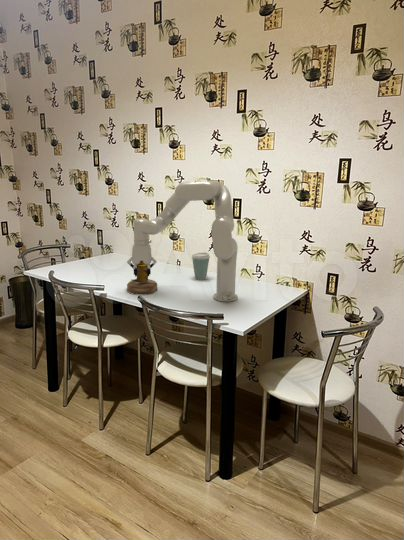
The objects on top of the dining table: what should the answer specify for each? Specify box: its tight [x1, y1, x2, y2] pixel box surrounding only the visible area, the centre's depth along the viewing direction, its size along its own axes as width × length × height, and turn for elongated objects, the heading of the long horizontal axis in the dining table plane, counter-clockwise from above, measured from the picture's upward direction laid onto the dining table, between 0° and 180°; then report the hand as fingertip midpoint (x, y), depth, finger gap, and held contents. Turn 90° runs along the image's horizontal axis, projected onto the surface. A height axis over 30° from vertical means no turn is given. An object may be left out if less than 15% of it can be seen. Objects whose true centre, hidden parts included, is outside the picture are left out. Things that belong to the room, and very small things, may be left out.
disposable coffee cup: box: [191, 252, 211, 281], centre depth 252 cm, size 11×11×15 cm
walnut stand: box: [126, 278, 158, 295], centre depth 230 cm, size 16×16×4 cm
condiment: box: [130, 261, 151, 284], centre depth 228 cm, size 7×8×12 cm
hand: (142, 275), depth 229 cm, fingers closed on condiment, 6 cm apart
